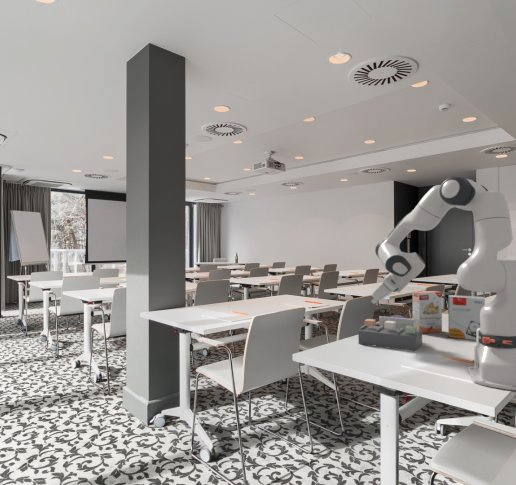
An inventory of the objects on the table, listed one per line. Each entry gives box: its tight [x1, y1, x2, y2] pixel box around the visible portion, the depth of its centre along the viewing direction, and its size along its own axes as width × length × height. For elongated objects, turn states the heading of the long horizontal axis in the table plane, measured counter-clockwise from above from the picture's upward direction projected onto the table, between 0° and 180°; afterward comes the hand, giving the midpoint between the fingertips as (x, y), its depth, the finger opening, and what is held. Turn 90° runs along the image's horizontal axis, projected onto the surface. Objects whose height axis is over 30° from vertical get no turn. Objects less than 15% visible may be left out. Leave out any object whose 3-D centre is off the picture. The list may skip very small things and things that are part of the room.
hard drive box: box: [447, 294, 486, 341], centre depth 185 cm, size 16×8×20 cm, turn 62°
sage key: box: [405, 326, 417, 334], centre depth 169 cm, size 4×4×2 cm
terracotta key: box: [363, 318, 377, 327], centre depth 178 cm, size 4×4×2 cm
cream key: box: [384, 321, 396, 329], centre depth 174 cm, size 4×4×2 cm
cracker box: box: [412, 290, 443, 334], centre depth 198 cm, size 14×6×21 cm, turn 105°
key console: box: [358, 315, 423, 352], centre depth 176 cm, size 20×25×10 cm
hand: (373, 302), depth 178 cm, fingers closed
